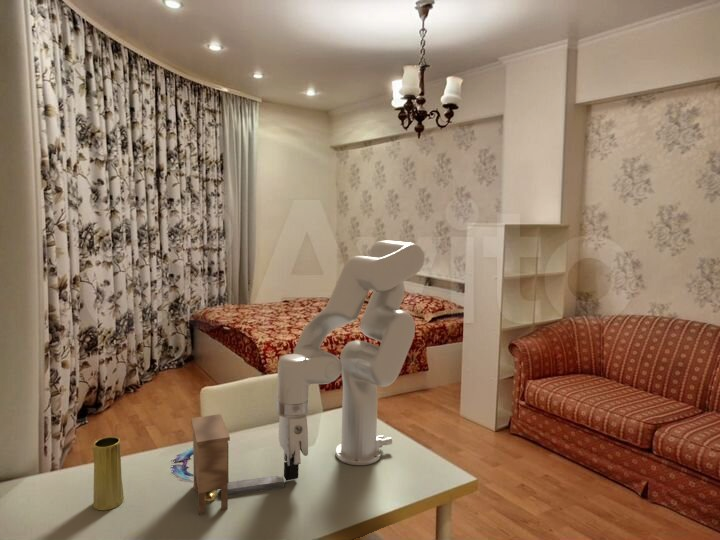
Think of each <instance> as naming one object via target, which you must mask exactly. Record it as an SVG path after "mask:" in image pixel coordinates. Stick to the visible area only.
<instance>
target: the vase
mask: <svg viewBox="0 0 720 540" xmlns="http://www.w3.org/2000/svg"><path fill="white" fill-rule="evenodd" d="M124 497H125V496H124V487H123V477H122V454H121V439H120V438H119V437H117V436H104V437H101V438H99V439H96V440H95V441H94V443H93V503H92V506H93V508H94V509H95V510H98V511H109V510H113V509H114V508H118V507H119V506H120V505H121V504H122V503H123V502H124V499H125V498H124Z"/></svg>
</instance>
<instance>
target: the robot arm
mask: <svg viewBox="0 0 720 540" xmlns="http://www.w3.org/2000/svg"><path fill="white" fill-rule="evenodd" d="M425 257H426V256H425V253H424V250H423V248H422V247H421V246H420V245H419V244H417V243H414V242H408V241H396V240H379V241H376V242H374V243H373V244H372V246H370V251H369V256H367V255H366V256H365V255H354V256H352V257H349V258H348V259H347V261H345V262H344V266H343V268H342V270H341V272H340V274H339V277H338V279H337V281H336V284H335V286H334V288H333V291H332V292H331V295H330V298H329V300H328V302H327V304H326V306H325V307H324V309H322V310H321V311H320V312H319V313H317V314H316V315H314V317H313V318H312V319H311V320H310V321H309V322H308V323H307V325H306V326H304V329H303V330H302V331H301V334H300V336H299V338H298V340H297V343H296V345H295V347H294V351H293V353H287V354H284V355H282V356H281V357H279V358H278V362H277V385H276V386H277V390H276V415H278V416H279V418H278V419H279V420H278V422H279V423H278V442H279V445H280V446H281V448H282V450H283V459H284V462H283V479H284V480H285V481H292V480H297V479H299V465H301V462H302V461H301V453H302V455H303V456H307V457H308V455H309V430H308V427H309V426H308V417H307V415H308V413H309V398H310V397H309V396H310V395H309V394H310V386H311V385H326V384H330V383H332V382H335V381H337V379H339V377H340V376H341V379H342V405H341V406H342V407H341V409H342V410H341V412H342V413H341V442H340V443H339V444H338V445H337V446H336V448H335V456H336V458H337V459H338V460H339V461H340V462H342V463H345V464H348V465H352V466H368V465H371V464H374V463H376V462H377V461H379V460H380V459H381V457H382V449H381V448H383V446H389V445H392V444H393V439H392V437H384V435H383V434H382V435H377V432H378V431H377V429H378V428H377V427H378V425H377V424H378V401H379V397H378V396H379V394H378V393H379V391H378V387H382V388H385V387H389V386H391V385H392V384H393V383H394V382H395V381H396V380H397V379H398V377H399V376H400V373H401V371H402V368H403V366H404V363H405V361H406V358H407V356H408V355H409V354H408V353H409V351H410V349H411V346H412V344H413V340H414V338H415V335H416V334H415V333H416V323H415V320H414V318H413V316H412V315H411V314H410V313H409V312H408V311H405V310H402V309H400V308H401V306H402V302H403V300H404V297H405V291H406V290H405V289H406V288H405V281H406V280H409V279H410V278H412V277H413V276H416V275H417V274H418V272H420V271H421V269H422V268H423V266H424V264H425ZM369 291H372V294H371V296H370V298H369V300H368V302H367V305H366V308H365V310H364V312H363V315H362V316H361V319H360V324H359V328H360V329H359V330H360V331H361V333H362V334H363V335H364V336H366V337H367V338H370V339H373V340H374V341H377V342H380V345H376V344H373V343H370V342H367V341H364V340H357V339H356V340H351V341H349V342H348V343H346V344H345V345H344V346H343V348H342V350H341V353H340V356H339V358H338V356H336V355H334V354H333V353H331V352H328V351H325V350H324V349H321V347H322V344H323V342H325V339H326V338H327V337H328V336H329V334H330V333H332V332H333V331H334V330H336V329H338V328H340V327H343V326H345V325H348V324H352V323H355V322H356V321H357V319H358V318H359V315H360V313H361V310H362V307H363V306H364V303H365V301H366V298H367V296H368V294H369Z"/></svg>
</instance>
